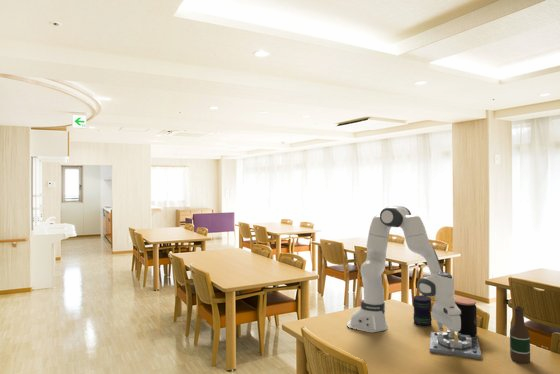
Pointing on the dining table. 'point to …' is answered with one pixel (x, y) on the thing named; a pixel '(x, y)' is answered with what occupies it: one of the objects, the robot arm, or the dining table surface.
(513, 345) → the beer bottle
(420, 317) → the storage jar
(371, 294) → the robot arm
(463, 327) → the coffee jar
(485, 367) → the dining table surface
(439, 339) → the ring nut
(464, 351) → the flange plate
